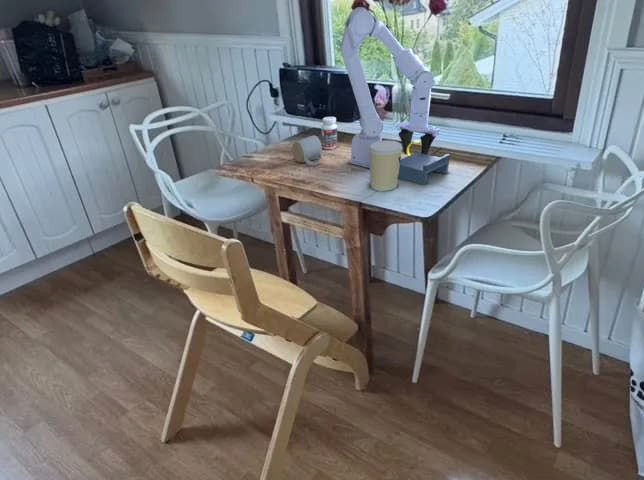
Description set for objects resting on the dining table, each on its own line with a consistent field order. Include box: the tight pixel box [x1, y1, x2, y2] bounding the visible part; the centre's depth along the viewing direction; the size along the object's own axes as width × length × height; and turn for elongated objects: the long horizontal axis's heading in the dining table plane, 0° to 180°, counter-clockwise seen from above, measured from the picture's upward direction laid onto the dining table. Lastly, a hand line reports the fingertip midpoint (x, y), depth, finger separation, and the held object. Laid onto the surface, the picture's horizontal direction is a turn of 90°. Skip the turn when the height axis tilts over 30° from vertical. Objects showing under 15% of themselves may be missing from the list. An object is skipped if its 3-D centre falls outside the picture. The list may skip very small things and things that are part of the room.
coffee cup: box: [369, 140, 403, 192], centre depth 152 cm, size 9×9×12 cm
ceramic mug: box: [291, 134, 323, 167], centre depth 176 cm, size 11×8×8 cm
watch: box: [406, 139, 421, 157], centre depth 169 cm, size 6×3×6 cm, turn 49°
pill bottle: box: [320, 116, 338, 150], centre depth 185 cm, size 6×6×10 cm
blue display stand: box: [398, 152, 451, 185], centre depth 158 cm, size 12×12×6 cm
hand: (415, 155), depth 169 cm, fingers closed on watch, 6 cm apart
